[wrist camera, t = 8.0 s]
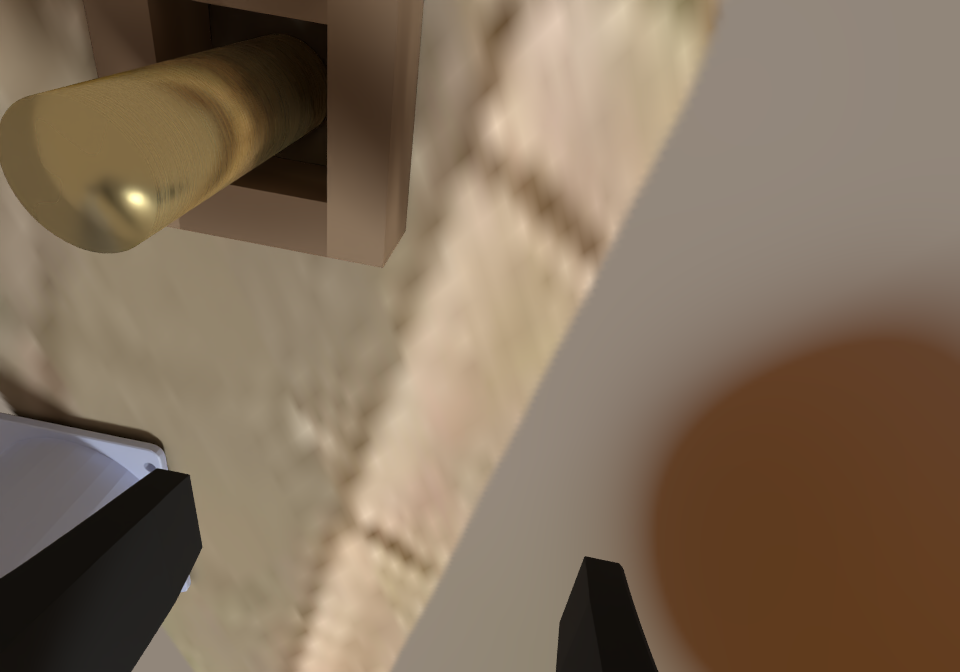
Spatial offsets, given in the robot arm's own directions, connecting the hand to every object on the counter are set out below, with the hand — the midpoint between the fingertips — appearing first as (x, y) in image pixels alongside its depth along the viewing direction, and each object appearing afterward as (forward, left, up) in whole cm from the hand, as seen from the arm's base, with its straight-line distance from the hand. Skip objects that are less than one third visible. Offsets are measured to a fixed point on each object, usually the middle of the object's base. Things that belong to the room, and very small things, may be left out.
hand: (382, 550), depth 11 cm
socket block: (+6, +6, -9) cm, 12 cm away
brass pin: (+6, +6, -9) cm, 12 cm away
